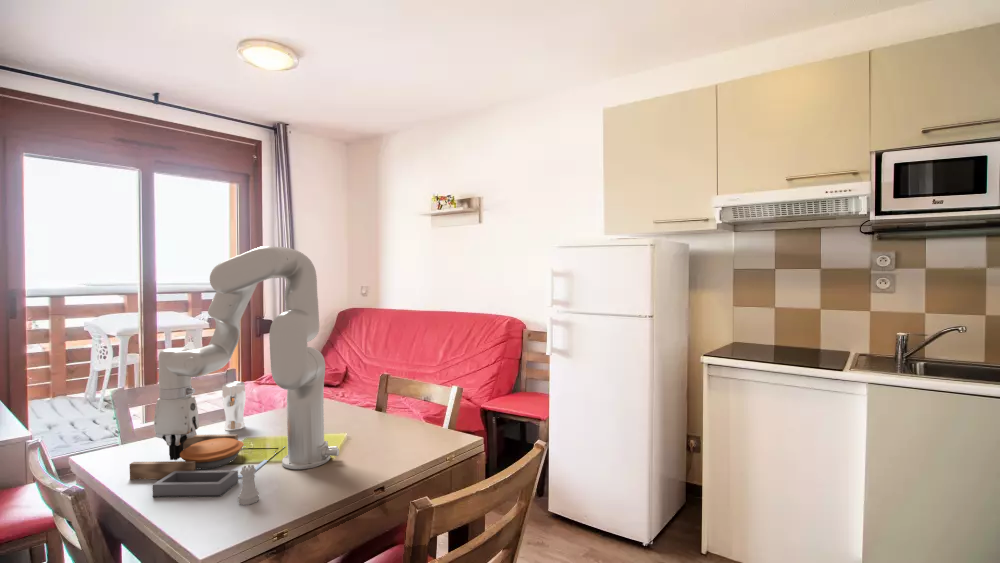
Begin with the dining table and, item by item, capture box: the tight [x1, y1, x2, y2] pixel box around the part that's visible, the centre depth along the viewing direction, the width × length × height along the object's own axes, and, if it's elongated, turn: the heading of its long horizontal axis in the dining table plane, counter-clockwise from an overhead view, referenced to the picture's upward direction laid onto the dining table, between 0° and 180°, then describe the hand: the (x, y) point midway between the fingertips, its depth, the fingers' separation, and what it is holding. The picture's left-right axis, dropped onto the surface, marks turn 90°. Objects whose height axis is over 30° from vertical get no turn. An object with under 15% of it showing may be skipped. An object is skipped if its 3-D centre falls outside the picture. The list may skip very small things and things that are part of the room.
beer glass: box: [221, 381, 247, 432], centre depth 170 cm, size 7×7×15 cm
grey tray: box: [151, 469, 239, 498], centre depth 123 cm, size 16×8×3 cm, turn 90°
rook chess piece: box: [237, 464, 260, 506], centre depth 116 cm, size 4×4×8 cm
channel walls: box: [129, 433, 239, 480], centre depth 140 cm, size 16×22×4 cm
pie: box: [180, 438, 245, 470], centre depth 141 cm, size 15×16×5 cm
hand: (176, 458), depth 140 cm, fingers closed
